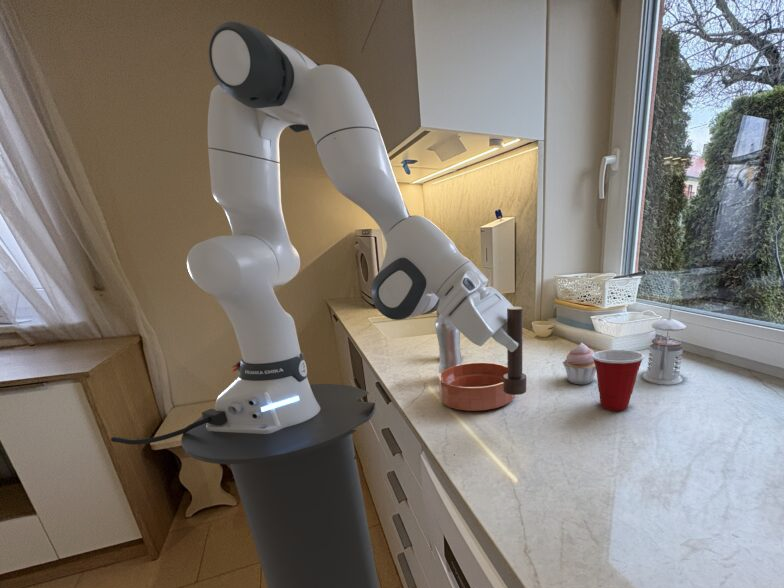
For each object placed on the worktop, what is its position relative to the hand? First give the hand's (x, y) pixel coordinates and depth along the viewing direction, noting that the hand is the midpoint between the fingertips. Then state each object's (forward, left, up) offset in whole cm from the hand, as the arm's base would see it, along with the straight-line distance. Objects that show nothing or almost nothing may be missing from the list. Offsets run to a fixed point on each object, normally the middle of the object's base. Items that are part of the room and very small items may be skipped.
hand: (518, 345), depth 76 cm
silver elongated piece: (-15, +28, -17) cm, 36 cm away
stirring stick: (-1, 0, -9) cm, 9 cm away
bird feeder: (+39, +23, -17) cm, 48 cm away
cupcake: (+18, +24, -17) cm, 34 cm away
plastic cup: (+22, +8, -17) cm, 29 cm away
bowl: (-8, +15, -17) cm, 24 cm away
